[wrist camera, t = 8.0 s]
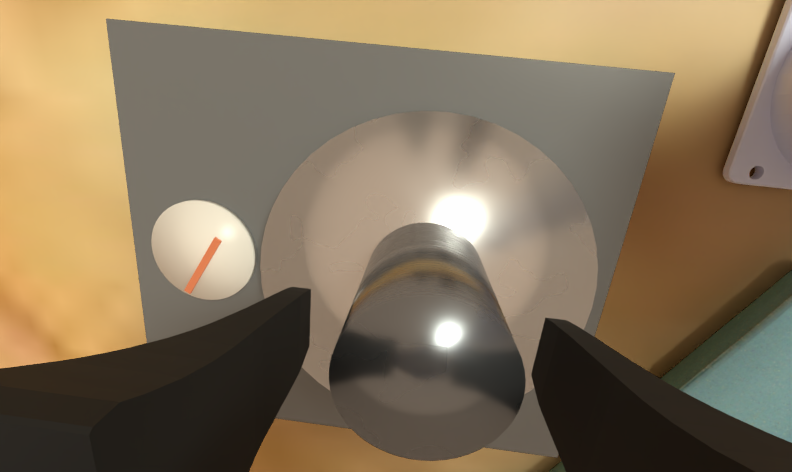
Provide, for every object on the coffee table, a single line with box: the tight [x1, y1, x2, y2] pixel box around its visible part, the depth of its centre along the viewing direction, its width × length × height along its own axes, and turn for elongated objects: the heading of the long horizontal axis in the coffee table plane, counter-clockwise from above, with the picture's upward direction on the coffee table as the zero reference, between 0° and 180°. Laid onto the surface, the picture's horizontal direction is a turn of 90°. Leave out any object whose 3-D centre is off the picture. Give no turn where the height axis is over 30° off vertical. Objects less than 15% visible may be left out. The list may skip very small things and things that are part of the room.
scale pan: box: [260, 111, 598, 394], centre depth 15 cm, size 13×13×1 cm
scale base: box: [106, 19, 675, 458], centre depth 16 cm, size 20×17×2 cm
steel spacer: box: [329, 222, 526, 461], centre depth 11 cm, size 4×4×6 cm
